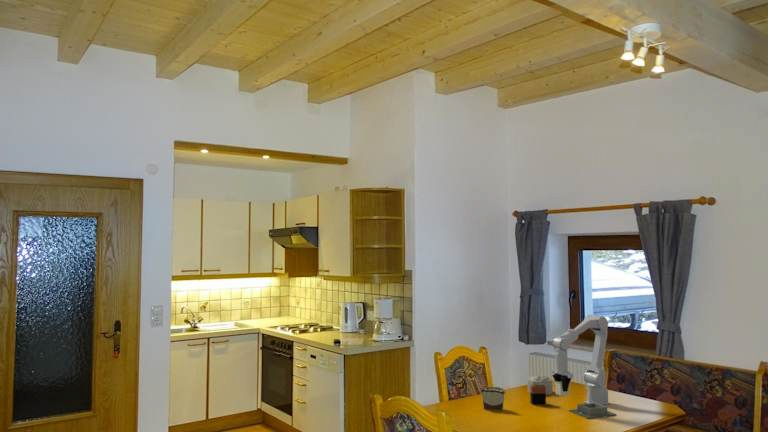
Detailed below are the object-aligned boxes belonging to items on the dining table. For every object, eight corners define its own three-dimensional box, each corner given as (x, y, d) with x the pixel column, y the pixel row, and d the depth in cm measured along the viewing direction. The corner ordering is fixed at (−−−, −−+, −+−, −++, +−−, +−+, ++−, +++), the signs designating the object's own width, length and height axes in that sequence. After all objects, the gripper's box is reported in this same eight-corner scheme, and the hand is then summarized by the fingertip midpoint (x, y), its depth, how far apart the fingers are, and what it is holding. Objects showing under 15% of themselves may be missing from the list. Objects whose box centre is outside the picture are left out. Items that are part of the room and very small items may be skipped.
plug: (564, 392, 288) (563, 380, 288) (569, 394, 284) (568, 382, 284) (555, 393, 286) (555, 381, 286) (560, 395, 282) (560, 383, 283)
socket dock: (596, 407, 285) (596, 400, 285) (616, 415, 272) (616, 407, 272) (569, 411, 280) (568, 403, 280) (587, 418, 267) (587, 410, 267)
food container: (508, 408, 286) (508, 387, 287) (505, 411, 281) (505, 390, 281) (484, 405, 291) (483, 385, 292) (480, 408, 286) (480, 388, 286)
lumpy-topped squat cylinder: (525, 391, 322) (525, 375, 322) (547, 389, 324) (547, 374, 325) (534, 395, 311) (533, 379, 312) (556, 394, 314) (556, 377, 314)
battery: (546, 404, 292) (545, 384, 293) (532, 405, 292) (532, 385, 292) (543, 402, 296) (542, 382, 297) (530, 402, 296) (529, 383, 297)
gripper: (546, 360, 292) (546, 387, 291) (563, 365, 278) (564, 394, 277) (557, 359, 294) (558, 386, 293) (576, 364, 280) (576, 392, 279)
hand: (562, 390), depth 285 cm, fingers closed on plug, 4 cm apart
